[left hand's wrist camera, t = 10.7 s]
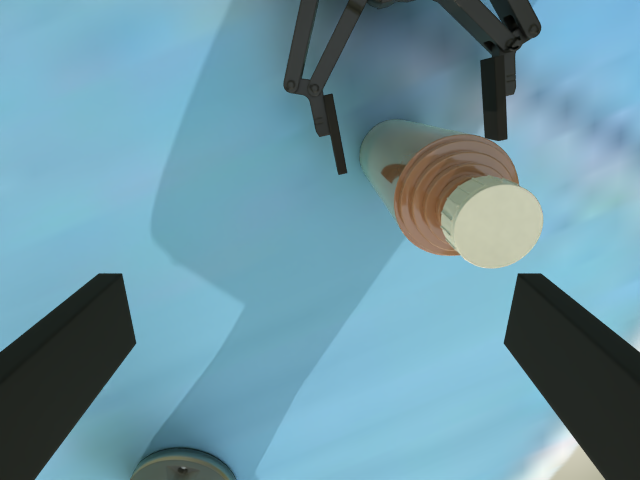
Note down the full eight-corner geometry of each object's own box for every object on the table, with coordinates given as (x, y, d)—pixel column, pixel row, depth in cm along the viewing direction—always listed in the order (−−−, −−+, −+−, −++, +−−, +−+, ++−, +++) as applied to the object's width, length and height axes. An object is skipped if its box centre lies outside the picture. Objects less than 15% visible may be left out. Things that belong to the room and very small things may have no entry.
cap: (464, 161, 18) (482, 168, 16) (538, 192, 18) (563, 202, 16) (425, 236, 19) (437, 251, 17) (495, 264, 19) (513, 281, 18)
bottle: (377, 107, 38) (464, 117, 15) (440, 135, 39) (608, 181, 16) (348, 174, 40) (388, 266, 18) (409, 198, 41) (520, 314, 19)
